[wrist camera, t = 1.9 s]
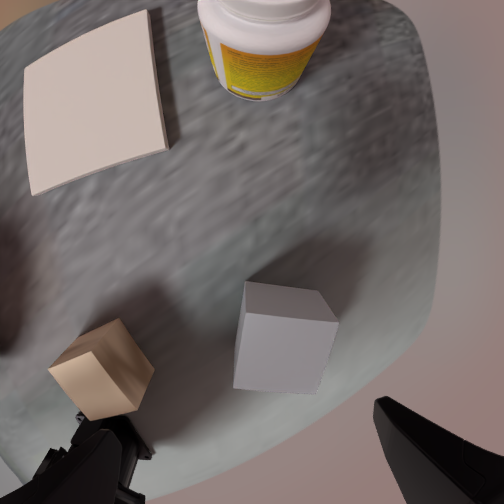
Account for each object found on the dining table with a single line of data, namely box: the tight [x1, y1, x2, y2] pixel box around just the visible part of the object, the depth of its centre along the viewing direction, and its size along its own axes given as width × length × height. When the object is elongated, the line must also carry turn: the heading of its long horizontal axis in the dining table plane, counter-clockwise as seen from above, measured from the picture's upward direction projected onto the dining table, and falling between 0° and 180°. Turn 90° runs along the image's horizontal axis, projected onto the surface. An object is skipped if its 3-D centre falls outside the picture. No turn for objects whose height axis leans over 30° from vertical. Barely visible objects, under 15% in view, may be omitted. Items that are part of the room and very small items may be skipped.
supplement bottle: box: [198, 0, 331, 101], centre depth 11 cm, size 6×6×10 cm
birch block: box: [48, 318, 155, 421], centre depth 18 cm, size 5×5×5 cm
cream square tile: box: [24, 9, 169, 196], centre depth 16 cm, size 11×11×1 cm
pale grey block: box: [233, 281, 339, 394], centre depth 18 cm, size 5×5×5 cm
